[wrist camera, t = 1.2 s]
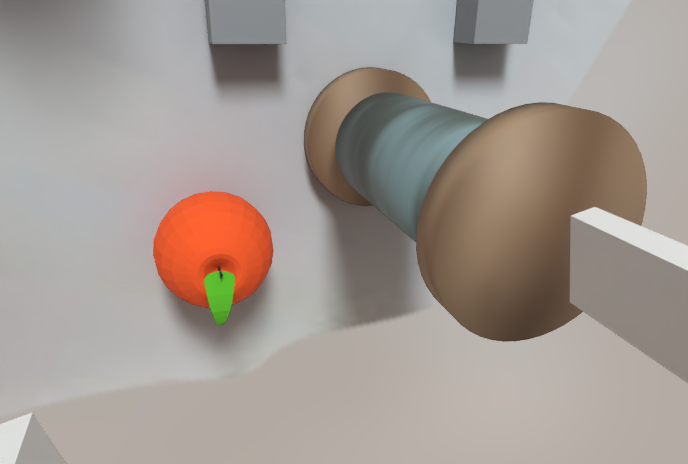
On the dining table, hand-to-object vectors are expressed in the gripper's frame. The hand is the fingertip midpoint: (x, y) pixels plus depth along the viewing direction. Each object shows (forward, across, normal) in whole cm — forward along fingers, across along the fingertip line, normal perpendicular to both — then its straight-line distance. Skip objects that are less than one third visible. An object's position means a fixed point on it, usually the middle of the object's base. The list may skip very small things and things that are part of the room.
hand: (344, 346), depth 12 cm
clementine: (+22, -3, -5) cm, 23 cm away
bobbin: (+22, +9, -2) cm, 24 cm away
